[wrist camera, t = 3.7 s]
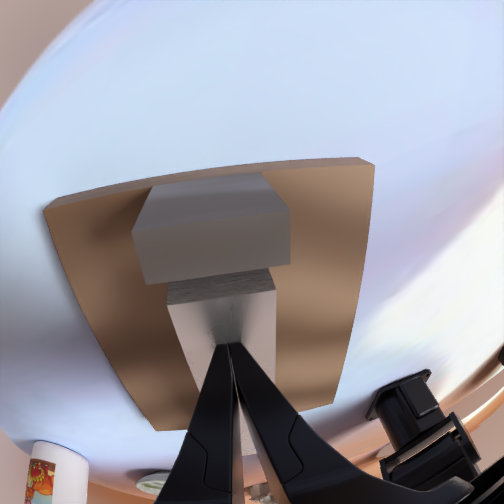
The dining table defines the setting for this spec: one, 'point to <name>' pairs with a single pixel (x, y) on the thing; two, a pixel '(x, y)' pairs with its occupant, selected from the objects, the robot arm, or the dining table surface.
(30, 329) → the dining table surface
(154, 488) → the saucer
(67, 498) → the milk bottle
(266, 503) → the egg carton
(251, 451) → the bar
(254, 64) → the dining table surface
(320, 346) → the base
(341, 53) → the dining table surface
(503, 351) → the mug
